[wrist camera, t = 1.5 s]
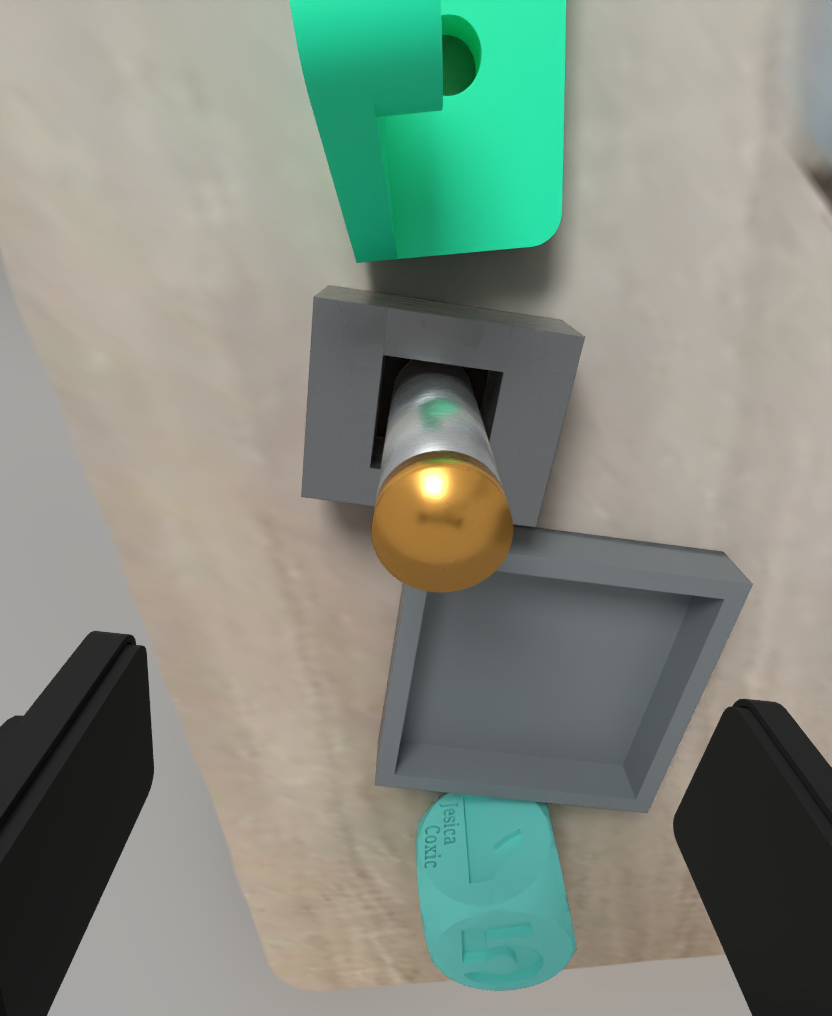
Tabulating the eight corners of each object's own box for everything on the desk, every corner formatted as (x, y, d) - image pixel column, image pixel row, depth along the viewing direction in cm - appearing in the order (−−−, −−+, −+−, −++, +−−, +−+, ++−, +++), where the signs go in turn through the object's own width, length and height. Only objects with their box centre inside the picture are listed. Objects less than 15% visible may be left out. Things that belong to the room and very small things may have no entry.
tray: (723, 551, 31) (753, 584, 28) (631, 770, 38) (647, 812, 35) (414, 512, 30) (413, 541, 27) (378, 743, 37) (374, 785, 34)
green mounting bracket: (547, 241, 24) (626, 256, 15) (362, 258, 25) (329, 282, 16) (552, -166, 19) (675, -521, 10) (316, -138, 20) (225, -457, 10)
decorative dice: (539, 769, 38) (568, 899, 30) (554, 849, 41) (583, 984, 34) (415, 787, 38) (415, 919, 31) (440, 865, 42) (444, 999, 35)
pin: (478, 360, 26) (527, 478, 14) (464, 437, 28) (498, 600, 16) (397, 349, 26) (380, 458, 14) (388, 426, 28) (364, 583, 16)
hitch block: (561, 320, 26) (585, 336, 22) (521, 488, 29) (535, 527, 25) (328, 285, 25) (313, 296, 21) (316, 461, 28) (301, 496, 25)
